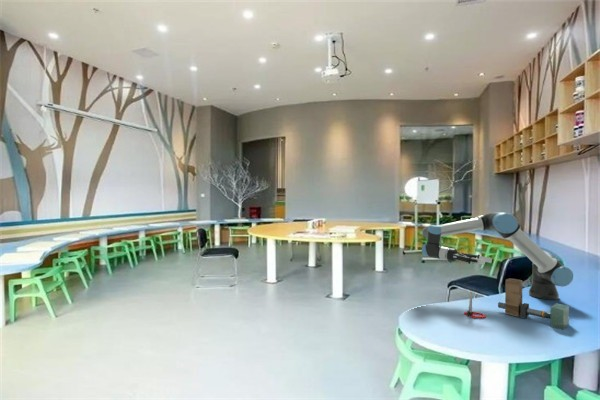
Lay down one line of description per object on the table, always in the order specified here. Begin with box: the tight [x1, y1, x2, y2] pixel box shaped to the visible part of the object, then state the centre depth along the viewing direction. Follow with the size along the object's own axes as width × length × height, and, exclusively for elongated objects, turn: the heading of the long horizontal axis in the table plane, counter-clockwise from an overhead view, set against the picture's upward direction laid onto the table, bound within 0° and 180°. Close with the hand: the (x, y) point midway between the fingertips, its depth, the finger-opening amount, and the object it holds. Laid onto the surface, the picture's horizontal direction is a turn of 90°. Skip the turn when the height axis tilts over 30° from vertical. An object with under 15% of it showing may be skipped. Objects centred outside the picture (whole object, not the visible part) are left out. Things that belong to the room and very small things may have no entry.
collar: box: [519, 302, 530, 319], centre depth 175 cm, size 6×2×6 cm, turn 131°
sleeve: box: [504, 278, 524, 317], centre depth 179 cm, size 6×6×18 cm
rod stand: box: [497, 301, 570, 330], centre depth 173 cm, size 10×29×9 cm, turn 41°
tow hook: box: [463, 290, 487, 320], centre depth 177 cm, size 8×13×9 cm
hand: (488, 261), depth 188 cm, fingers open, 13 cm apart
